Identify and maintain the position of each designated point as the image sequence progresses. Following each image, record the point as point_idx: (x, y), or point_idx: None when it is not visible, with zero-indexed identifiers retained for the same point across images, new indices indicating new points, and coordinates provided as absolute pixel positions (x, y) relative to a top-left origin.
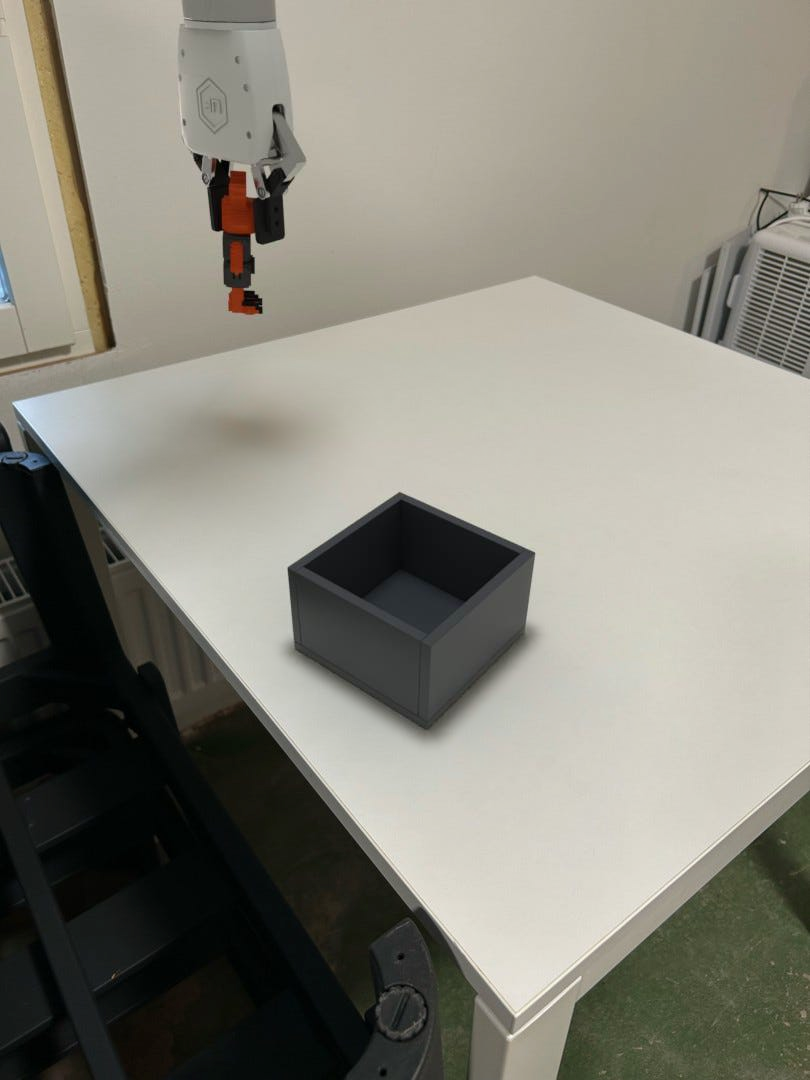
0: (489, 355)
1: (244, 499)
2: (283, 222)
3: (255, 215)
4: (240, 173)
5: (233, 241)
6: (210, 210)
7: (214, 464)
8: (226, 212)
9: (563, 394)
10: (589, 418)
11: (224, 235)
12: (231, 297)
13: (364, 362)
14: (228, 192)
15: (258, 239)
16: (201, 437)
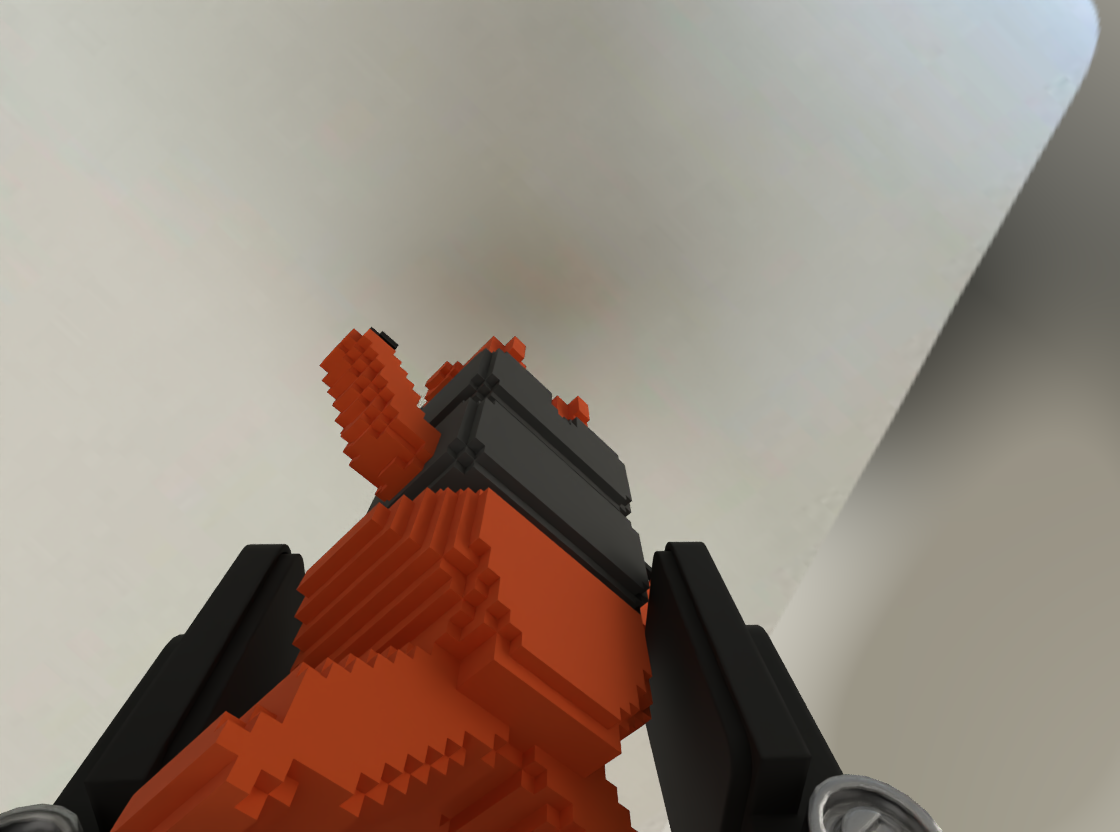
0: None
1: (273, 32)
2: None
3: (197, 663)
4: None
5: (418, 474)
6: (730, 616)
7: (460, 112)
8: (447, 581)
9: None
10: (24, 749)
11: (478, 471)
12: (569, 410)
13: None
14: (695, 828)
15: (251, 553)
16: (585, 190)
